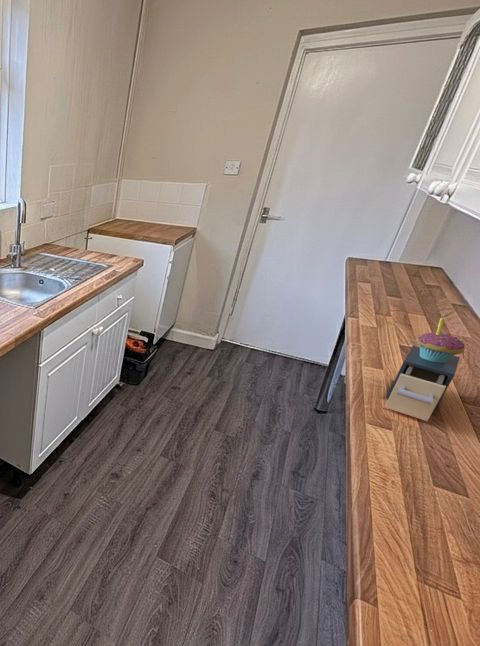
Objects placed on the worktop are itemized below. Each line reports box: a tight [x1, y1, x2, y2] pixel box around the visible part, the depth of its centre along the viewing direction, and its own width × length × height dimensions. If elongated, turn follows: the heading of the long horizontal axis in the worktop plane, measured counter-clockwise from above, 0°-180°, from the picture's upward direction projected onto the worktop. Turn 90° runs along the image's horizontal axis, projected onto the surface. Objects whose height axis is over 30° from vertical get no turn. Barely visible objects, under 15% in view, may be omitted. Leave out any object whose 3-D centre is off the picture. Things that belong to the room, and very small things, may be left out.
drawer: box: [384, 366, 446, 422], centre depth 105 cm, size 18×8×10 cm, turn 129°
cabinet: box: [386, 345, 461, 414], centre depth 112 cm, size 15×9×12 cm, turn 129°
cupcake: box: [415, 315, 466, 363], centre depth 107 cm, size 9×8×12 cm
